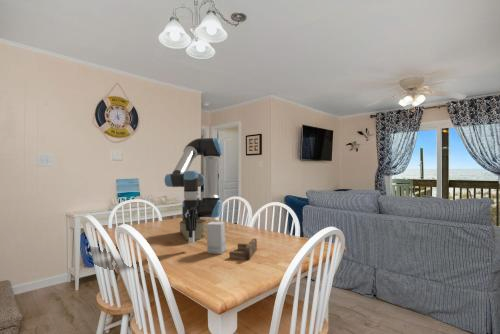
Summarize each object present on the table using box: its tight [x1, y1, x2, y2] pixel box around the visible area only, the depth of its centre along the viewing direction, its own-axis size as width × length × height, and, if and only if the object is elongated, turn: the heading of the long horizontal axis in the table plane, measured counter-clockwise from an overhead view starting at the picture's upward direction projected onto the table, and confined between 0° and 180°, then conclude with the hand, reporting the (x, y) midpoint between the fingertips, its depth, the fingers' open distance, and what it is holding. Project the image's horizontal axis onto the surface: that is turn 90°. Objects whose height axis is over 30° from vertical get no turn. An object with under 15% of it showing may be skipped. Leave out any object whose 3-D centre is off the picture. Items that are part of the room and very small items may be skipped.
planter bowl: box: [179, 218, 207, 241], centre depth 172 cm, size 16×16×11 cm
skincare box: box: [205, 221, 227, 255], centre depth 145 cm, size 8×7×16 cm
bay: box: [228, 238, 258, 261], centre depth 142 cm, size 16×10×6 cm, turn 166°
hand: (191, 242), depth 148 cm, fingers closed
